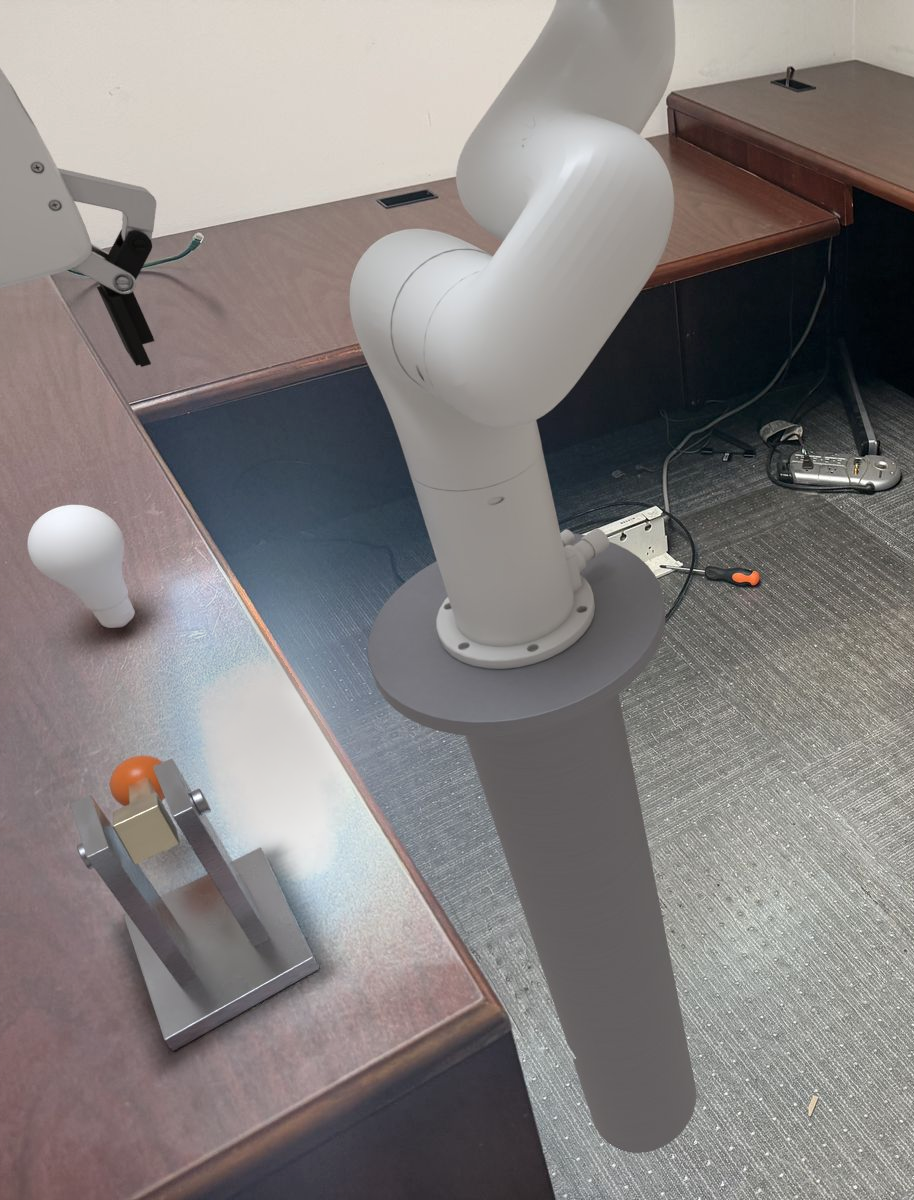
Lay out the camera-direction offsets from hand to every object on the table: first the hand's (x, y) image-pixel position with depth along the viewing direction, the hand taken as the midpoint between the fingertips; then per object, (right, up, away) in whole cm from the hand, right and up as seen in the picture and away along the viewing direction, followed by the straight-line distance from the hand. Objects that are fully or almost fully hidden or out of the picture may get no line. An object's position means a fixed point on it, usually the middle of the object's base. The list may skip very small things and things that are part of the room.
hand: (43, 385), depth 59 cm
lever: (+4, -24, +3) cm, 25 cm away
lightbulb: (-14, -14, +29) cm, 35 cm away
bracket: (+7, -32, +5) cm, 33 cm away
